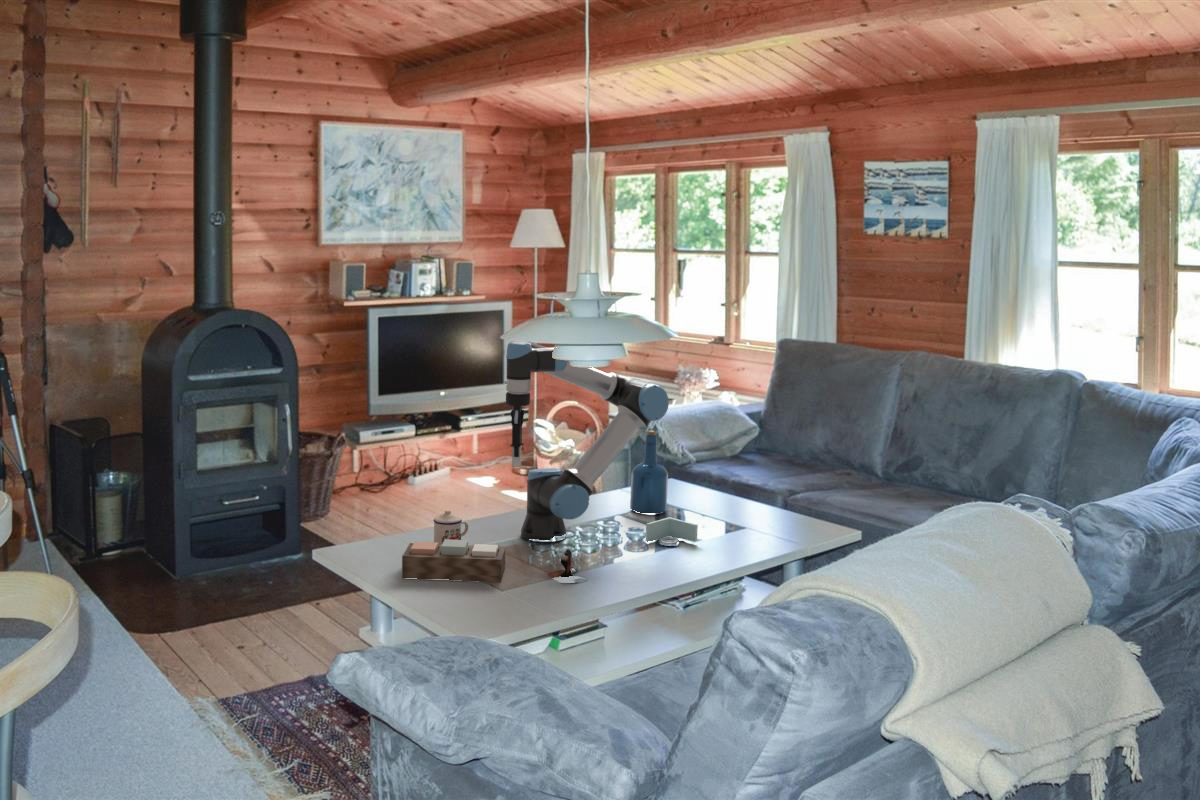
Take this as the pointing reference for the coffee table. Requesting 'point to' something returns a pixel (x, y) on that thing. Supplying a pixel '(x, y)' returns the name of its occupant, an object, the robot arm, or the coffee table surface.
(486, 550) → the cream key
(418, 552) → the pink square block
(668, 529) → the right angle wall
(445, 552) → the slate key
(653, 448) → the wine bottle
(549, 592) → the coffee table surface
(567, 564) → the figurine
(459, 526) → the teacup with lid
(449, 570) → the frame
